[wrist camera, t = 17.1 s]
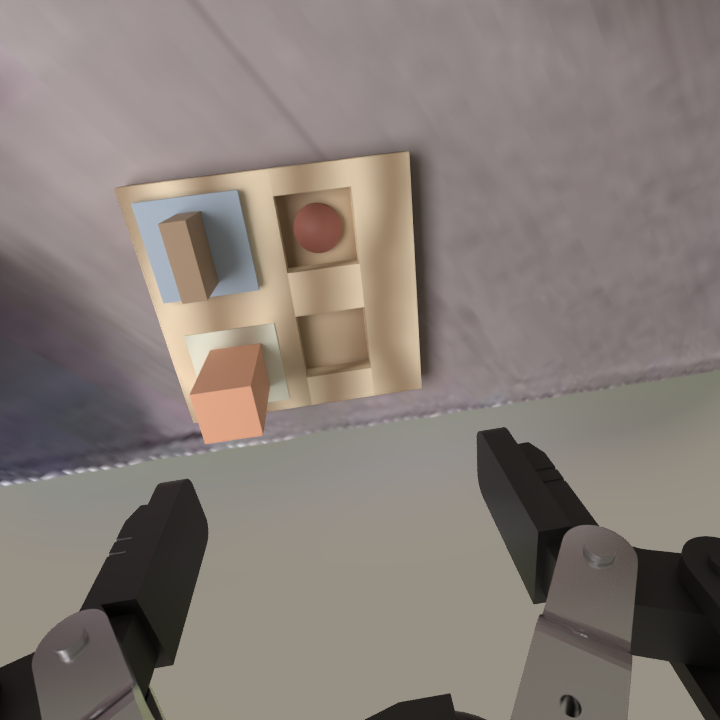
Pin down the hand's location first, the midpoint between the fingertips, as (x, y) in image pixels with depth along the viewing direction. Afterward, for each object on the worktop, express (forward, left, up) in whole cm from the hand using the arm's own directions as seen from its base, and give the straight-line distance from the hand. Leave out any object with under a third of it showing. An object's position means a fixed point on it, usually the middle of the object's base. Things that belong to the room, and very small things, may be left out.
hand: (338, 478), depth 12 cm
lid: (+8, -3, -23) cm, 25 cm away
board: (+3, +2, -25) cm, 26 cm away
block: (+7, +7, -23) cm, 26 cm away
